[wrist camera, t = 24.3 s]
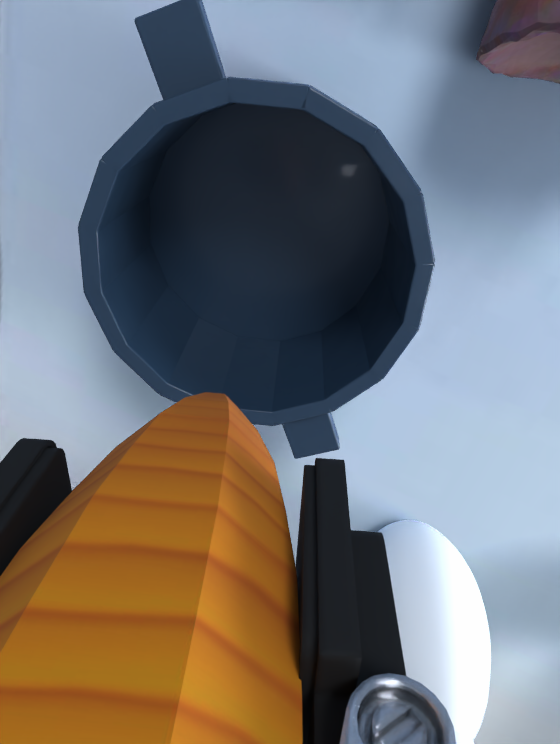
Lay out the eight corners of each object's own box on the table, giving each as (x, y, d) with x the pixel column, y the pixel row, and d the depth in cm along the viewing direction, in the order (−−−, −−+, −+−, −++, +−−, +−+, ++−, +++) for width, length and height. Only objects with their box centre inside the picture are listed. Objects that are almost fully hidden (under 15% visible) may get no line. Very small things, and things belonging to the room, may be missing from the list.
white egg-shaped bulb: (396, 583, 43) (448, 877, 27) (329, 530, 40) (342, 819, 24) (477, 534, 40) (589, 832, 24) (410, 474, 37) (483, 761, 22)
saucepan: (354, -31, 24) (374, -83, 16) (430, 352, 33) (465, 431, 25) (68, 79, 27) (-26, 77, 19) (210, 405, 35) (183, 491, 28)
